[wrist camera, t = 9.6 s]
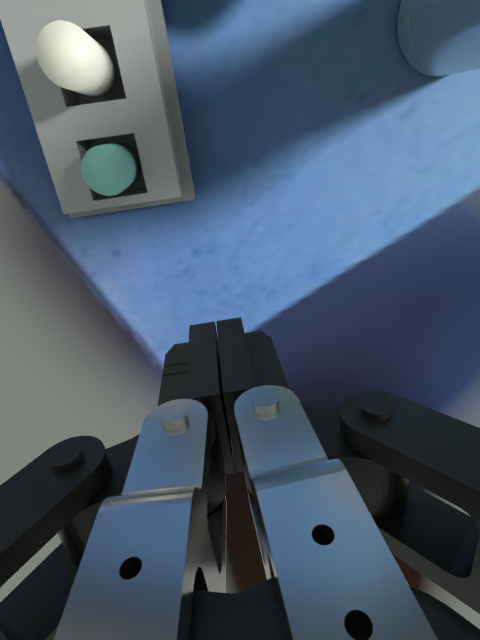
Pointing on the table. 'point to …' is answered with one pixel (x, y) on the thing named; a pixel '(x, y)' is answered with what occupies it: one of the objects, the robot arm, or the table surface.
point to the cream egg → (74, 59)
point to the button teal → (110, 168)
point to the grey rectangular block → (106, 101)
